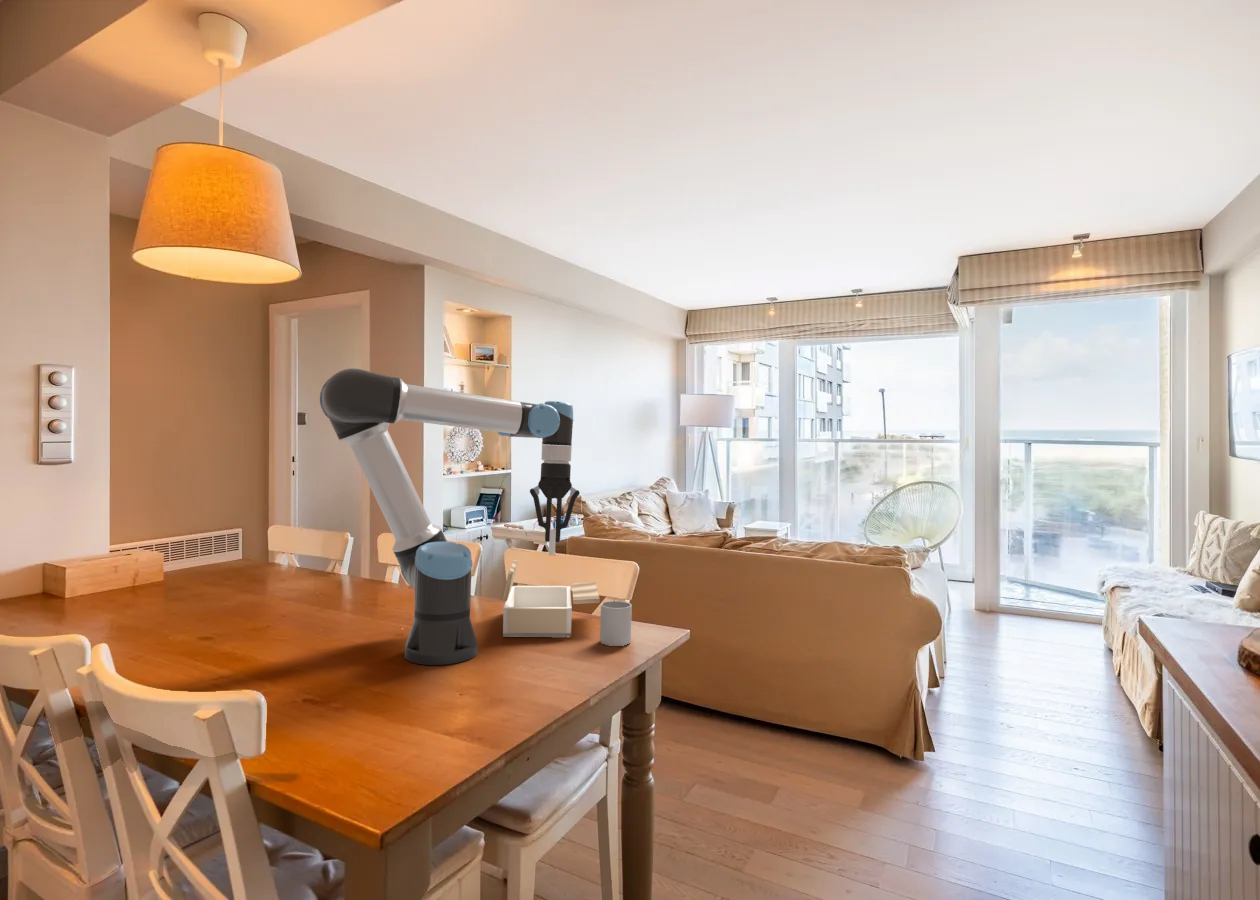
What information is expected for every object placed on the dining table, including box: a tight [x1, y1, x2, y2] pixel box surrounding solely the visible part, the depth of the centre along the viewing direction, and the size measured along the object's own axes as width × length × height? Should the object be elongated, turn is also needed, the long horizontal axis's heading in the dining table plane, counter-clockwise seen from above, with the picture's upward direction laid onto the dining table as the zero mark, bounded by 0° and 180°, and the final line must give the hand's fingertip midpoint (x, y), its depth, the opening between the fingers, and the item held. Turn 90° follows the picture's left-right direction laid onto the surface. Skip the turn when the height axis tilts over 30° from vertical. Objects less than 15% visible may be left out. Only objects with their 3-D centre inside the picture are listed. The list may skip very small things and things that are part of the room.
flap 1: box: [502, 559, 518, 602], centre depth 168 cm, size 19×6×1 cm
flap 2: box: [571, 581, 601, 605], centre depth 170 cm, size 19×6×1 cm, turn 6°
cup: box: [599, 600, 633, 647], centre depth 156 cm, size 7×10×9 cm
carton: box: [502, 585, 573, 638], centre depth 168 cm, size 25×16×7 cm, turn 6°
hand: (551, 554), depth 168 cm, fingers closed
